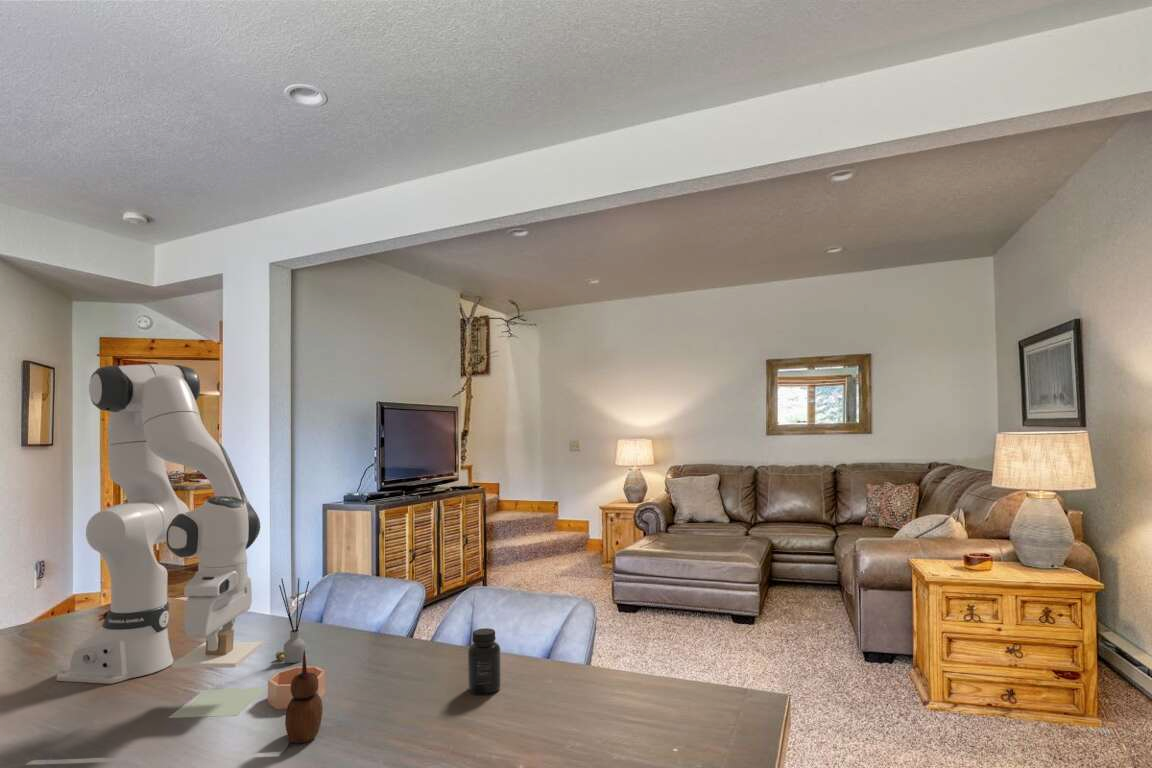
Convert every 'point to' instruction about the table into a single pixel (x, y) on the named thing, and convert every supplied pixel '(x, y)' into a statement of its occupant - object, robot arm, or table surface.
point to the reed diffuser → (292, 636)
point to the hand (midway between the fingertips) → (219, 645)
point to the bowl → (282, 685)
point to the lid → (218, 653)
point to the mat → (218, 703)
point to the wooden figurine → (304, 707)
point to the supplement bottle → (484, 663)
